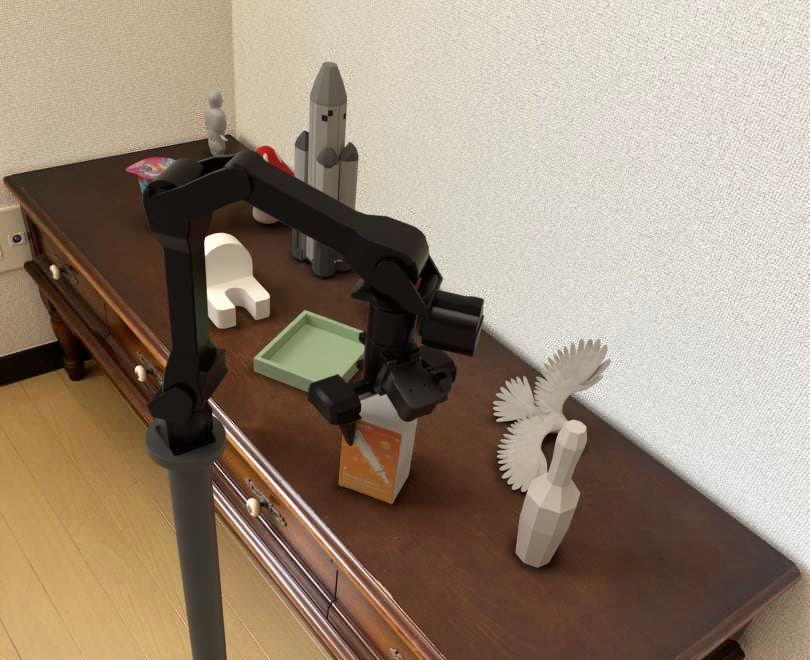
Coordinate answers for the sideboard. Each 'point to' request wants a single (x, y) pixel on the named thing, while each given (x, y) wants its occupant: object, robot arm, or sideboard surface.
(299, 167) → the toy rocket
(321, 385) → the robot arm
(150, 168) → the cup
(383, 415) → the small box
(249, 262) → the white slotted holder
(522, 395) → the bird
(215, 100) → the figurine
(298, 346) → the tray
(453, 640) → the sideboard surface
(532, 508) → the low poly bottle
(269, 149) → the decorative mushroom
